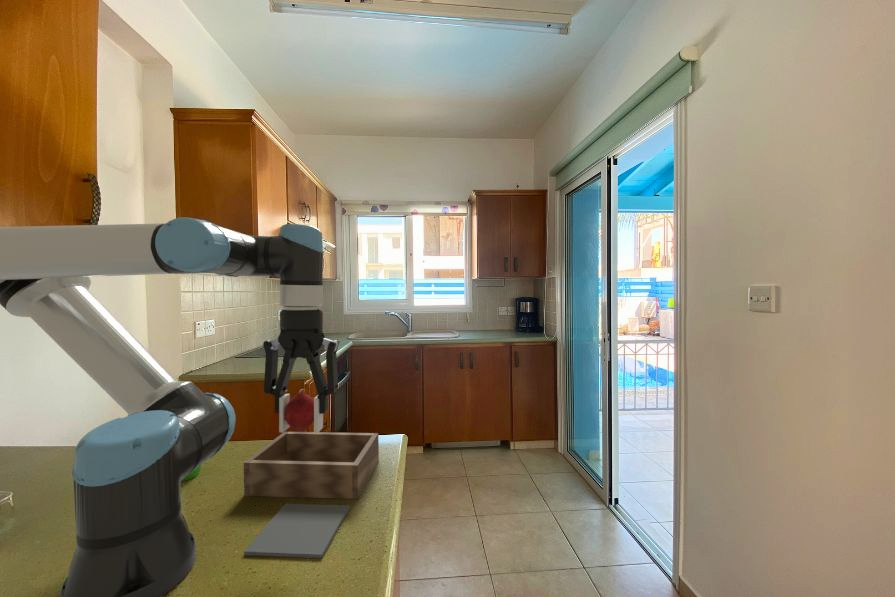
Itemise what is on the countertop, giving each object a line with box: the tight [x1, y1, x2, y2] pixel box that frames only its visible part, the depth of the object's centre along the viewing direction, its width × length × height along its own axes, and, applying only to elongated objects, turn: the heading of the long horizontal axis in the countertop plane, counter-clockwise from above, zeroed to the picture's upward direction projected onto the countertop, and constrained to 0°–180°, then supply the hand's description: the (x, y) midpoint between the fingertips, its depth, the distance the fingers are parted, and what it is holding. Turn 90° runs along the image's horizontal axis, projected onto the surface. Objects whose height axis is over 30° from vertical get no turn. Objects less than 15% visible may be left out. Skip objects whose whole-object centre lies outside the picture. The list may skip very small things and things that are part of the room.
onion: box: [285, 388, 314, 432], centre depth 68 cm, size 6×6×8 cm
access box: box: [243, 431, 380, 500], centre depth 82 cm, size 24×16×7 cm
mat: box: [243, 503, 350, 559], centre depth 64 cm, size 13×13×1 cm
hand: (301, 429), depth 68 cm, fingers closed on onion, 6 cm apart
